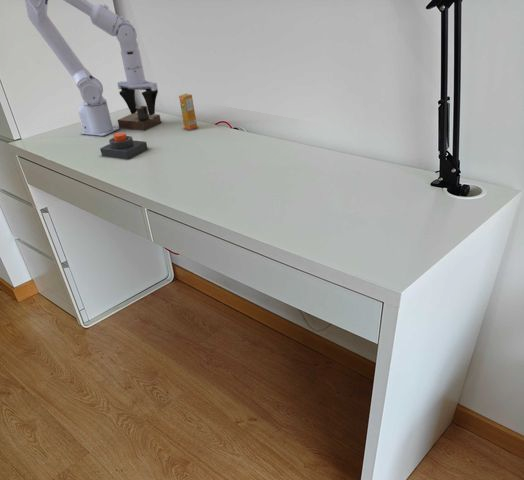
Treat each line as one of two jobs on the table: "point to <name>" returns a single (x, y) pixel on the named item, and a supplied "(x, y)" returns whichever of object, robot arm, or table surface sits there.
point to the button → (120, 137)
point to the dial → (142, 112)
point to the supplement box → (188, 111)
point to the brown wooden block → (138, 122)
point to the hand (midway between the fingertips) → (143, 113)
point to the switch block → (123, 148)
